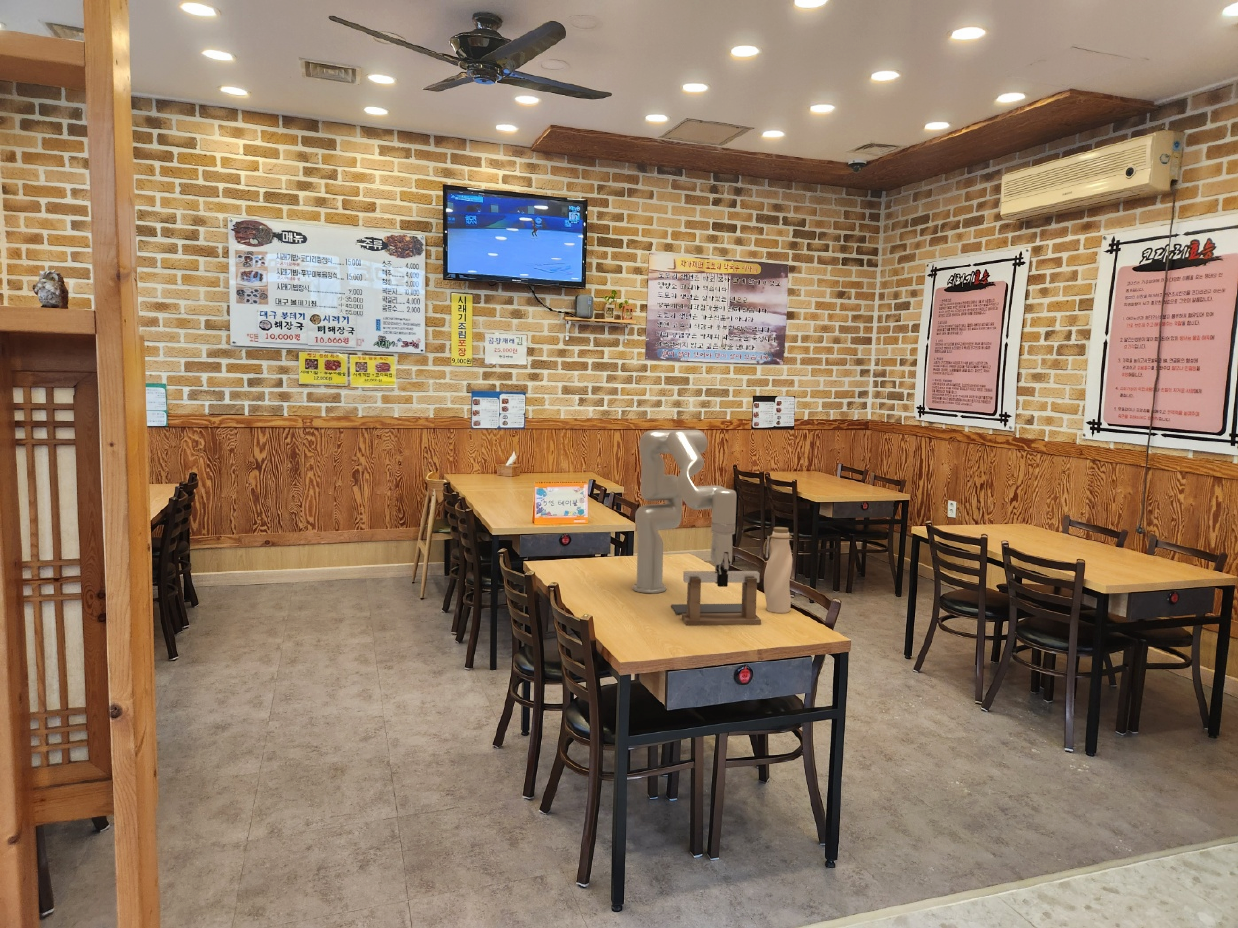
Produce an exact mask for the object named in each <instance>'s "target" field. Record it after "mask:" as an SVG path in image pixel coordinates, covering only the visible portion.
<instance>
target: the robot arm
mask: <svg viewBox="0 0 1238 928" xmlns="http://www.w3.org/2000/svg"><path fill="white" fill-rule="evenodd" d="M708 443H709V442H708V438H707V435H706V434H705V433H704V432H703V431H702V430H699V429H654V430H653V429H652V430H648V431H645V432H644V433H643V434H642V435H641V437H640V439H639V444H638V450H639V456H640V461H641V468H640V469H641V470H640V495H641V499H643V500H644V501H647V502H661V501H662V502H664V501H665V503H654V504H653V503H652V504H651V503H649V504H644V505H641V506H639V507H638V508H637V509H636V511H635V514H634V515H635V517H634V518H635V519H634V520H635V527H636V532H637V533H636V536H637V540H636V541H637V546H636V547H637V548H636V549H637V550H636V551H637V554H636V555H637V556H636V557H637V558H636V583H634V584H633V585H632V590H633V591H635V592H638V593H643V594H658V593H664V592H666V591H667V585H665V584H663V577H664V570H663V567H664V540H663V538H662V537H661V535H660V533H659V532H658V531H663V530H674V529H677V528H678V527H679V526H680V525H681V522H682V516H683V501H684V503H685V505H686V506H687V507H688V508H689V509H692V510H695V511H697V510H698V511H699V510H711V524H710V525H711V526H710V527H711V528H710V530H711V531H710V532H711V534H712V537H711V547H710V548H711V549H710V560H711V561H712V562H713V564H715V567H714V571H719V574H718V582H717V583H715V584H716V586H717V587H718V588H719V587H721V588H724V587H725V588H726V587H728V584H729V583H728V571H729V569H730V568H729V567H730V566H731V565H732V562H733V535H735V534H736V519H737V518H736V517H737V515H736V514H737V491H736V490H734V489H732V488H731V489H729V488H726V487H724V486H722V485H696V486H695V484H694V483H693V481H692V479H691V478H692V477H694V476H695V475H697V474H698V473H699V472H701V470H702V469H703V467H704V465H705V460H704V458H703V457H702V455H701V454H703V453H705V451H706V450H707V448H708ZM662 454H667V455H668V454H670V455H672V458H673V459H674V461H675V464H676V465H677V467H678V468H679V470H680V472H679V473H678V476H677V475H675V474H665V469H666V467H665V466H666V464H665V463H666V462H665V461H664V458H663V457H662Z"/></svg>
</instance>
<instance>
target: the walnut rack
mask: <svg viewBox="0 0 1238 928" xmlns="http://www.w3.org/2000/svg"><path fill="white" fill-rule="evenodd" d="M741 584H742V585H741V604H742V611H741V613H700V604H701V596H702V595H701V594H702V593H701V592H702V588H701V587H702V583H701V579H700V578H693V579H691V583H687V593H686V594H687V595H686V597H687V598H686V604H687V614H682V615H681V620H682V621H683V623H684V624H685V626H731V625H732V626H737V625H738V626H740V625H741V626H742V625H746V626H747V625H752V626H753V625H761V624H762V619H761V618H760V617H759V616H758V615H757V595H758V594H757V592H758V591H757V590H758V583H757V578H747V583H741Z"/></svg>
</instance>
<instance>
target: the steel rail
mask: <svg viewBox="0 0 1238 928" xmlns="http://www.w3.org/2000/svg"><path fill="white" fill-rule="evenodd" d="M718 574H719V571H715V570H695V571H694V570H684V571H683V576H682V577H683V582H684V583H685V584H688V583H691V579H693V578H700V579H701V584H702V583H703V584H704V583H705V584H711V583H712V584H713V583H714V584H716V583H717V582H718ZM760 575H761V573H760V572H759V571H758V570H753V571H752V570H728V584H729V583H735V584H736V583H738V584H739V583H740V584H742V583H747V578H757V584H758V583H760Z"/></svg>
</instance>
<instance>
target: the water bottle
mask: <svg viewBox="0 0 1238 928" xmlns="http://www.w3.org/2000/svg"><path fill="white" fill-rule="evenodd" d="M792 538H793V536H792V535H791V534H790V532H789V527H783V526H775V527H773V531H772V534H770V536H769V535H767V539H766V540H765V541H764V543H763V548H762V550H763V551H762V552H763V555H765V558H766V559H768V560H767V563H766V565H765V566H766V567H765V569H764V575H763V591H764V596H765V597H764V598H765V603H766V611H768V612H769V613H770V612H771V613H774V614H776V613H777V614H786V613H789V612H791V604H792V603H791V602H792V600H791V599H792V597H791V592H790V591H791V590H790V581H791V575H792V570H793V561H794V558H793V554H792V549H791V545H790V539H792Z"/></svg>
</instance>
